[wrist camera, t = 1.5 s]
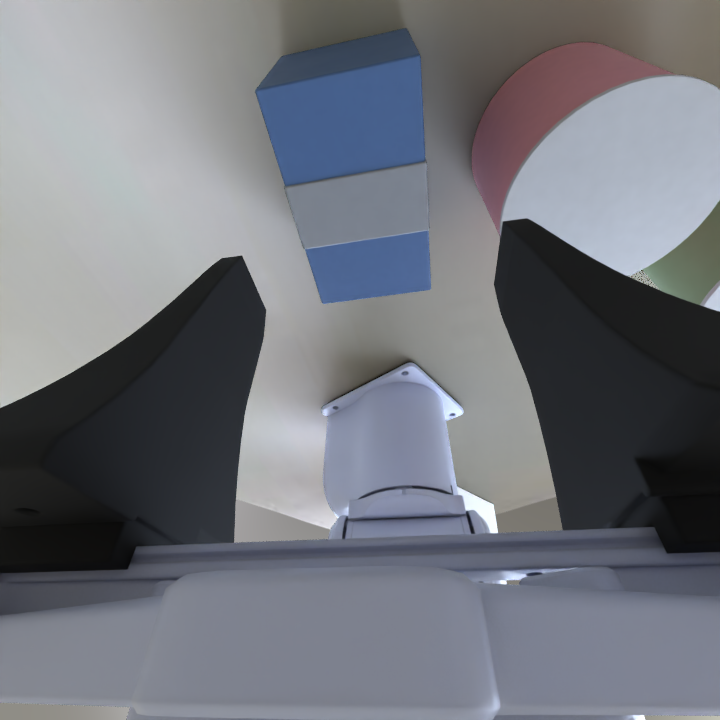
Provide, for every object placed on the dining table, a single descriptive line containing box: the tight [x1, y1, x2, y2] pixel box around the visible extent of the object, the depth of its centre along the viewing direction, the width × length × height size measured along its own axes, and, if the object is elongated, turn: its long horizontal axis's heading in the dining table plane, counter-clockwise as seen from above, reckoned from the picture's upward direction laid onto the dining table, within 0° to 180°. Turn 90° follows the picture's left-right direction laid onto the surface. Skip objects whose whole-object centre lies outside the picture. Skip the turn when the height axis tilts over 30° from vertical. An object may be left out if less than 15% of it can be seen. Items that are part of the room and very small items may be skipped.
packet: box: [255, 28, 431, 304], centre depth 16 cm, size 8×5×5 cm, turn 10°
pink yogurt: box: [472, 42, 720, 276], centre depth 15 cm, size 7×7×6 cm
